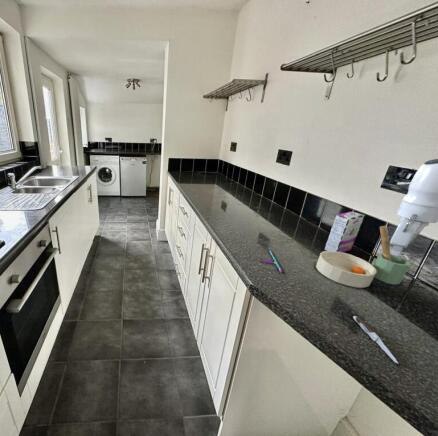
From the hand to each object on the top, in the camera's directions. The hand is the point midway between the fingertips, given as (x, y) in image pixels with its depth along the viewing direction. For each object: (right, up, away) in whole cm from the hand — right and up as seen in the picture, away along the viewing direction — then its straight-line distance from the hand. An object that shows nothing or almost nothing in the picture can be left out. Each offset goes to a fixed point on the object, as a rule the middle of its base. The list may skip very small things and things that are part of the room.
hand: (398, 251), depth 76 cm
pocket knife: (-28, -19, -20) cm, 39 cm away
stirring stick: (0, -10, +3) cm, 10 cm away
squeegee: (-37, -5, +12) cm, 39 cm away
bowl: (-14, -9, +5) cm, 18 cm away
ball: (-10, -7, +4) cm, 13 cm away
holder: (0, -10, +4) cm, 11 cm away
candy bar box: (-2, -3, +22) cm, 22 cm away
